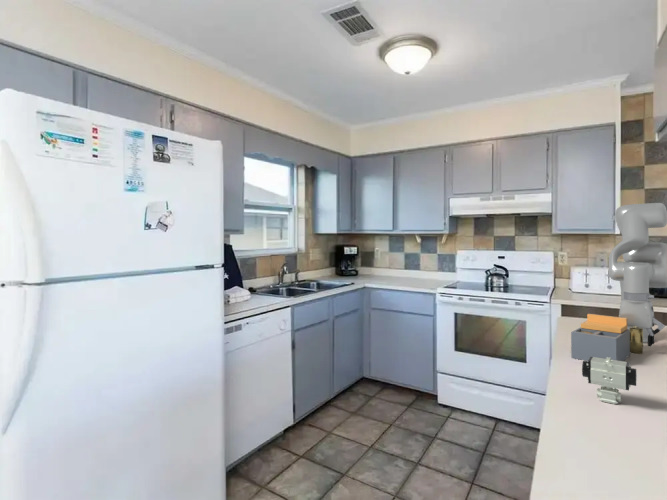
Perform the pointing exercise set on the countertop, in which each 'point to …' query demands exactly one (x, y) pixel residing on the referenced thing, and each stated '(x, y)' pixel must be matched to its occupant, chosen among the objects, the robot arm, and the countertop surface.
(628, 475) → the countertop surface
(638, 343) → the pin
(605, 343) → the housing
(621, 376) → the pneumatic valve
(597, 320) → the cover
